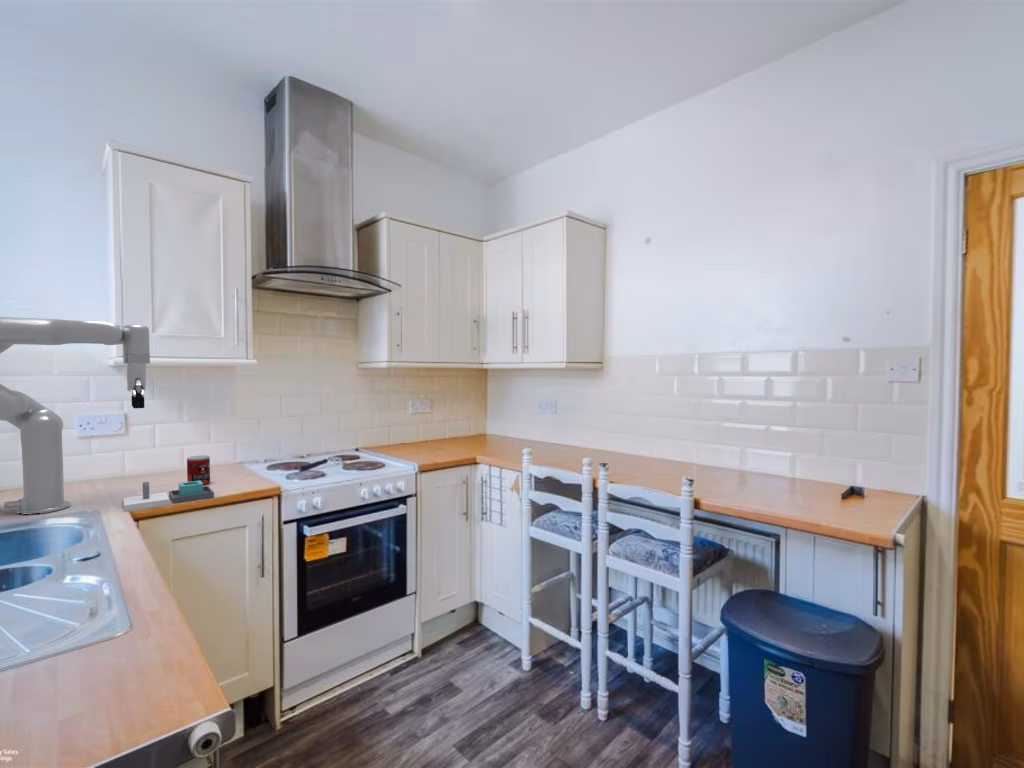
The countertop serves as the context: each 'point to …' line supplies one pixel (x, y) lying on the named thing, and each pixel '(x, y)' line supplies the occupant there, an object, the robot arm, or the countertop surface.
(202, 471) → the canned food
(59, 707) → the countertop surface
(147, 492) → the stake block
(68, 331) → the robot arm
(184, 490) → the teal notched block
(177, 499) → the tray
